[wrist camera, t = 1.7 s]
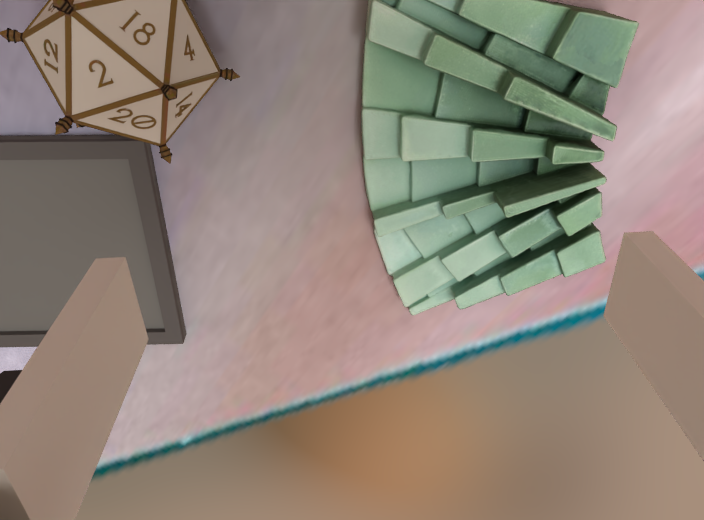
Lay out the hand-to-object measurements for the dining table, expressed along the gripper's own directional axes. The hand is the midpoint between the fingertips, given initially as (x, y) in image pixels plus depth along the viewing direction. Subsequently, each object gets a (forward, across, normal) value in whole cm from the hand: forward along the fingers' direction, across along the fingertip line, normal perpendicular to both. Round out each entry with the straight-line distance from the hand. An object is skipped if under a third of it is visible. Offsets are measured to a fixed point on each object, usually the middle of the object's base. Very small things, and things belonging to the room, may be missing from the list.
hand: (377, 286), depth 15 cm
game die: (+18, -10, +4) cm, 21 cm away
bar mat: (+18, -18, -8) cm, 27 cm away
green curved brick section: (+19, +7, -2) cm, 20 cm away
